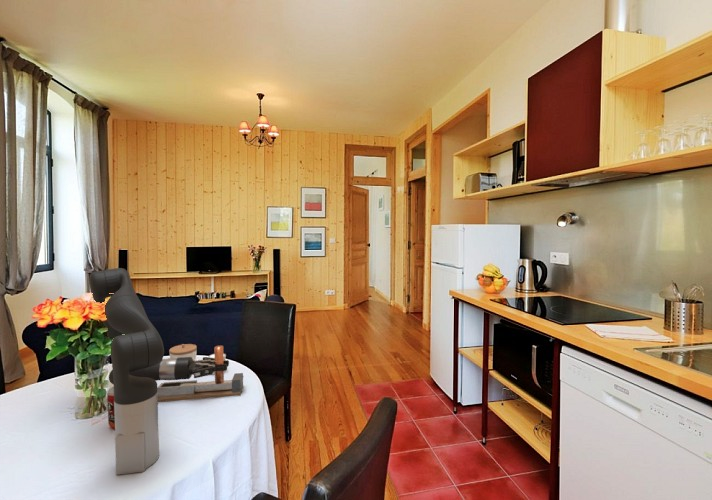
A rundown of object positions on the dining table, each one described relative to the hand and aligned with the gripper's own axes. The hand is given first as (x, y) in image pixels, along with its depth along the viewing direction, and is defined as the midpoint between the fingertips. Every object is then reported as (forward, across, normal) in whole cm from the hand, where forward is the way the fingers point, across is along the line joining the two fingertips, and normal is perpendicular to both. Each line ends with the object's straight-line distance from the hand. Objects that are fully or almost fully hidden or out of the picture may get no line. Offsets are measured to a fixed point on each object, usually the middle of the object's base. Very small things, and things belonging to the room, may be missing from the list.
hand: (227, 365), depth 123 cm
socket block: (+3, 0, +9) cm, 10 cm away
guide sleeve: (-17, 0, +9) cm, 19 cm away
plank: (-9, 0, +10) cm, 13 cm away
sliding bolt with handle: (-7, 0, +9) cm, 11 cm away
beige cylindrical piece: (-7, +19, +10) cm, 23 cm away
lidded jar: (-23, +29, +10) cm, 39 cm away
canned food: (-28, -15, +10) cm, 33 cm away
